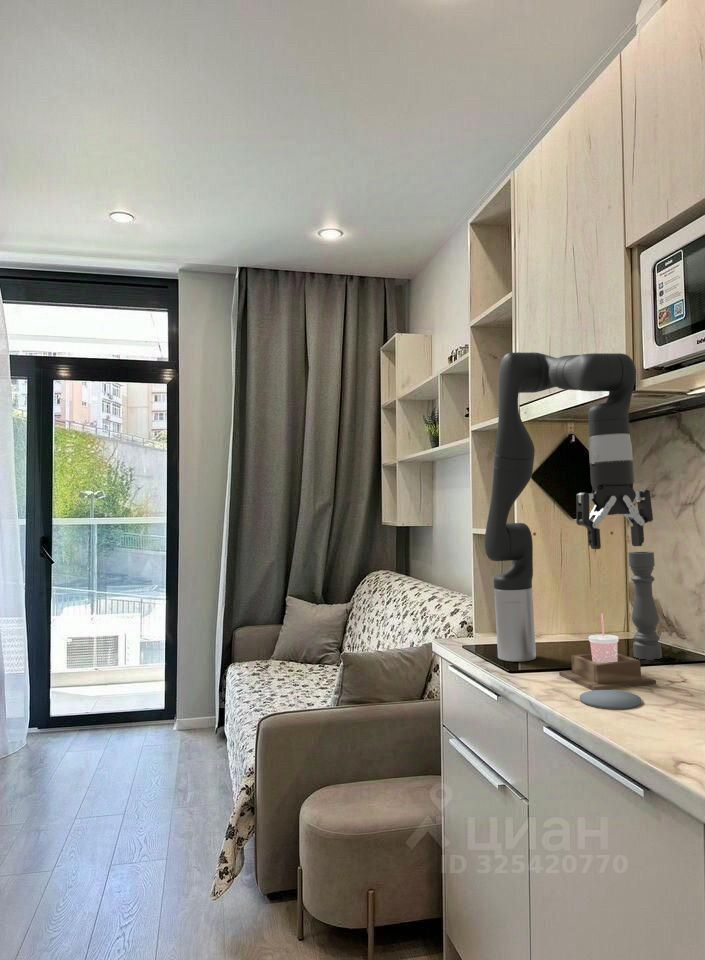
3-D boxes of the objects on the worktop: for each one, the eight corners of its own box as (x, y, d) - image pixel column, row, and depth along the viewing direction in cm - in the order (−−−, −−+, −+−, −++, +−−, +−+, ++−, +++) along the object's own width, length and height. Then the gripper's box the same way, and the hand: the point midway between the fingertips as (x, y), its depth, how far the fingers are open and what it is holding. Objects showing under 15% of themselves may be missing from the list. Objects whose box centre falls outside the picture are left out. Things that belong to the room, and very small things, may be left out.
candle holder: (663, 655, 164) (656, 551, 165) (660, 661, 159) (653, 553, 160) (635, 653, 167) (629, 551, 168) (631, 659, 162) (625, 553, 163)
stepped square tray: (559, 675, 150) (558, 654, 150) (616, 669, 153) (614, 648, 153) (594, 691, 137) (593, 668, 137) (656, 684, 140) (654, 661, 140)
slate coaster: (569, 696, 134) (568, 693, 134) (619, 690, 136) (618, 687, 136) (600, 712, 123) (600, 708, 123) (654, 705, 125) (654, 702, 125)
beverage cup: (610, 684, 141) (606, 616, 141) (584, 679, 146) (580, 613, 146) (627, 679, 144) (623, 612, 145) (601, 674, 149) (597, 610, 150)
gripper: (632, 460, 132) (638, 544, 131) (565, 462, 129) (570, 548, 128) (657, 457, 124) (663, 546, 124) (587, 459, 121) (592, 550, 121)
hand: (616, 547), depth 126 cm, fingers open, 8 cm apart
